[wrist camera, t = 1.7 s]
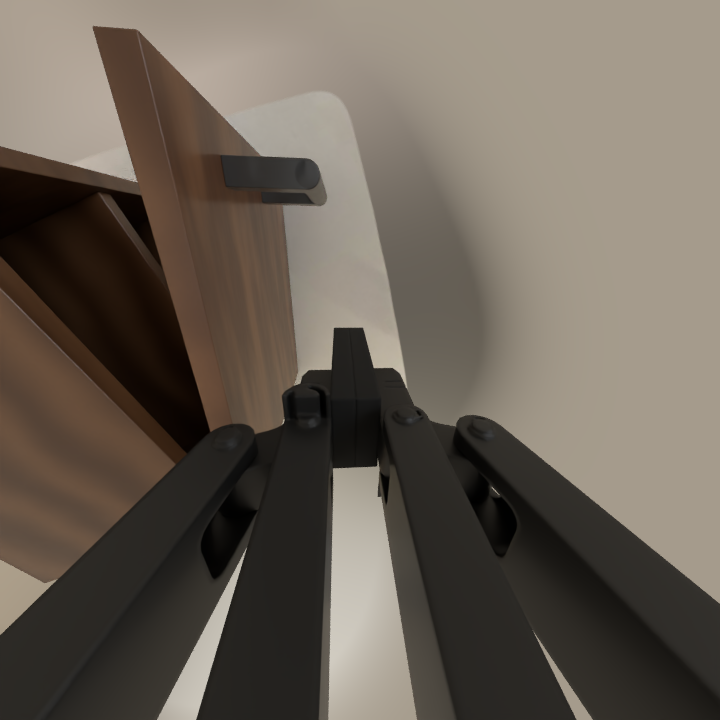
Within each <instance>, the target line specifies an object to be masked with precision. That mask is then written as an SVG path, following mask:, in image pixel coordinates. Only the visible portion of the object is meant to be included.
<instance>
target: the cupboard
mask: <svg viewBox="0 0 720 720" xmlns="http://www.w3.org/2000/svg"><path fill="white" fill-rule="evenodd" d="M209 433H210V428H209V425H208V421H207V418H206V415H205V411H204V408H203V404H202V401H201V397H200V394H199V391H198V387H197V384H196V380H195V377H194V373H193V370H192V367H191V363H190V360H189V356H188V353H187V349H186V346H185V343H184V339H183V336H182V332H181V329H180V325H179V322H178V319H177V315H176V312H175V308H174V305H173V301H172V298H171V295H170V291H169V288H168V284H167V281H166V277H165V274H164V271H163V267H162V264H161V260H160V257H159V253H158V250H157V247H156V243H155V240H154V236H153V233H152V229H151V226H150V223H149V219H148V216H147V212H146V209H145V205H144V202H143V199H142V195H141V192H140V188H139V185H138V183H137V182H133V181H129V180H125V179H122V178H118V177H114V176H110V175H107V174H103V173H99V172H95V171H91V170H88V169H84V168H80V167H76V166H73V165H69V164H65V163H61V162H57V161H54V160H49V159H46V158H42V157H38V156H35V155H31V154H27V153H23V152H20V151H16V150H12V149H8V148H4V147H1V146H0V560H2V561H4V562H6V563H8V564H10V565H12V566H14V567H15V568H18V569H19V570H21V571H23V572H25V573H27V574H29V575H31V576H33V577H34V578H36V579H38V580H40V581H42V582H44V583H47V582H50V581H53V580H56V579H59V578H60V577H61V576H62V575H63V574H64V573H65V572H66V571H67V570H68V569H69V568H70V567H71V566H72V565H73V564H74V563H75V562H76V561H77V560H78V559H79V558H80V557H81V556H82V555H83V554H84V553H85V552H86V551H87V550H88V549H90V548H91V547H92V546H93V545H94V544H95V543H96V542H97V541H98V540H99V539H100V538H101V537H102V536H103V535H104V534H105V533H106V532H107V531H108V530H109V529H110V528H111V527H112V526H113V525H114V524H115V523H116V522H117V521H118V520H119V519H120V518H121V517H122V516H123V515H124V514H126V513H127V512H128V511H129V510H130V509H131V508H132V507H133V506H134V505H135V504H136V503H137V502H138V501H139V500H140V499H141V498H142V497H143V496H144V495H145V494H146V493H147V492H148V491H149V490H150V489H151V488H152V487H153V486H154V485H155V484H156V483H157V482H158V481H159V480H160V479H162V478H163V477H164V476H165V475H166V474H167V473H168V472H169V471H170V470H171V469H172V468H173V467H174V466H175V465H176V464H177V463H178V462H179V461H180V460H181V459H182V458H183V457H184V456H185V455H186V454H187V453H188V452H189V451H190V450H191V449H192V448H193V447H194V446H195V445H196V444H198V443H199V442H200V441H201V440H202V439H203V438H204V437H205V436H206V435H207V434H209Z"/></svg>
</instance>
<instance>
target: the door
mask: <svg viewBox="0 0 720 720" xmlns="http://www.w3.org/2000/svg"><path fill="white" fill-rule="evenodd" d="M93 31H94V34H95V37H96V40H97V44H98V48H99V51H100V55H101V58H102V61H103V65H104V68H105V72H106V75H107V79H108V82H109V85H110V89H111V92H112V96H113V99H114V102H115V106H116V109H117V113H118V116H119V120H120V123H121V127H122V130H123V133H124V136H125V140H126V144H127V147H128V151H129V154H130V157H131V161H132V164H133V168H134V171H135V175H136V178H137V181H138V185H139V188H140V192H141V195H142V199H143V202H144V205H145V209H146V212H147V216H148V219H149V223H150V226H151V229H152V233H153V236H154V240H155V243H156V247H157V250H158V253H159V257H160V260H161V264H162V267H163V271H164V274H165V277H166V281H167V284H168V288H169V291H170V295H171V298H172V301H173V305H174V308H175V312H176V315H177V319H178V322H179V325H180V329H181V332H182V336H183V339H184V343H185V346H186V349H187V353H188V356H189V360H190V363H191V367H192V370H193V373H194V377H195V380H196V384H197V387H198V391H199V394H200V397H201V401H202V404H203V408H204V411H205V415H206V418H207V421H208V425H209V428H210V432H211V431H213V430H215V429H217V428H219V427H221V426H224V425H229V424H239V423H242V424H246V425H249V426H251V427H252V428H253V429H254V432H255V434H257V433H261V432H265V431H269V430H272V429H275V428H277V427H279V426H281V425H282V423H283V419H284V411H283V403H282V394H283V393H284V392H285V391H286V390H287V389H289V388H290V387H292V386H294V383H295V380H296V377H297V373H298V365H297V354H296V343H295V333H294V322H293V311H292V301H291V290H290V279H289V269H288V258H287V247H286V237H285V226H284V215H283V205H300V206H322V205H324V204H325V202H326V200H327V194H326V191H325V187H324V184H323V181H322V178H321V174H320V171H319V168H318V166H317V165H316V163H315V162H314V161H312V160H310V159H305V158H285V157H262V156H260V155H259V154H258V152H257V151H256V150H255V149H254V148H253V147H252V146H251V145H250V144H249V143H248V142H247V141H246V140H245V139H244V138H243V137H242V136H241V135H240V134H239V133H238V132H237V131H236V130H235V129H234V128H233V127H232V126H231V125H230V124H229V123H228V122H227V121H226V120H225V119H224V118H223V117H222V116H221V115H220V114H219V113H218V112H217V111H216V110H215V109H214V108H213V107H212V106H211V105H210V104H209V102H208V101H207V100H206V99H205V98H204V97H203V96H202V95H201V94H200V93H199V92H198V91H197V90H196V89H195V88H194V87H193V86H192V85H191V84H190V83H189V82H188V81H187V80H186V79H185V78H184V77H183V76H182V75H181V74H180V73H179V72H178V71H177V70H176V69H175V68H174V67H173V66H172V65H171V64H170V63H169V62H168V61H167V60H166V59H165V58H164V57H163V56H162V55H161V54H160V52H159V51H157V50H156V48H155V47H154V46H153V45H152V44H151V43H150V42H149V41H148V40H147V39H146V38H145V37H144V36H143V35H142V34H141V33H140V32H139V31H138V30H135V29H123V28H110V27H97V26H93Z"/></svg>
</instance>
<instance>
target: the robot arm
mask: <svg viewBox="0 0 720 720" xmlns="http://www.w3.org/2000/svg"><path fill="white" fill-rule="evenodd" d="M282 403H283V411H284V419H285V421H284V424H283V425H281V426H279V427H277V428H275V429H272V430H269V431H265V432H261V433H257V434H255V432H254V429H253V428H252V427H251V426H249V425H246V424H242V423H239V424H229V425H224V426H221V427H219V428H217V429H215V430H213V431H211V432H210V433H209V434H207V435H206V436H205V437H204V438H203V439H202V440H201V441H200V442H199V443H198V444H196V445H195V446H194V447H193V448H192V449H191V450H190V451H189V452H188V453H187V454H186V455H185V456H184V457H183V458H182V459H181V460H180V461H179V462H178V463H177V464H176V465H175V466H174V467H173V468H172V469H171V470H170V471H169V472H168V473H167V474H166V475H165V476H164V477H163V478H162V479H160V480H159V481H158V482H157V483H156V484H155V485H154V486H153V487H152V488H151V489H150V490H149V491H148V492H147V493H146V494H145V495H144V496H143V497H142V498H141V499H140V500H139V501H138V502H137V503H136V504H135V505H134V506H133V507H132V508H131V509H130V510H129V511H128V512H127V513H126V514H124V515H123V516H122V517H121V518H120V519H119V520H118V521H117V522H116V523H115V524H114V525H113V526H112V527H111V528H110V529H109V530H108V531H107V532H106V533H105V534H104V535H103V536H102V537H101V538H100V539H99V540H98V541H97V542H96V543H95V544H94V545H93V546H92V547H91V548H90V549H88V550H87V551H86V552H85V553H84V554H83V555H82V556H81V557H80V558H79V559H78V560H77V561H76V562H75V563H74V564H73V565H72V566H71V567H70V568H69V569H68V570H67V571H66V572H65V573H64V574H63V575H62V576H61V577H60V578H59V579H58V580H57V581H56V582H55V583H54V584H53V585H51V586H50V587H49V589H47V590H46V591H45V592H44V593H43V594H42V595H41V596H40V597H39V598H38V599H37V600H36V601H35V602H34V603H33V604H32V605H31V606H30V607H29V608H28V609H27V610H26V611H25V612H24V613H23V614H22V615H21V616H20V617H19V618H18V619H17V620H15V622H14V623H12V624H11V626H9V627H8V628H7V629H6V630H5V631H4V632H3V633H2V634H1V635H0V720H157V718H158V716H159V714H160V712H161V711H162V709H163V707H164V705H165V703H166V701H167V699H168V697H169V695H170V693H171V691H172V689H173V688H174V686H175V683H176V682H177V680H178V678H179V676H180V674H181V672H182V670H183V668H184V666H185V664H186V663H187V661H188V659H189V657H190V655H191V653H192V651H193V649H194V647H195V645H196V643H197V641H198V640H199V638H200V636H201V634H202V632H203V630H204V628H205V626H206V624H207V622H208V620H209V619H210V617H211V615H212V613H213V611H214V609H215V607H216V605H217V603H218V601H219V599H220V597H221V596H222V594H223V592H224V590H225V588H226V586H227V584H228V582H229V580H230V578H231V576H232V574H233V573H234V571H235V569H236V567H237V565H238V563H239V561H240V559H241V557H242V555H243V553H244V551H245V549H246V548H247V550H246V553H245V556H244V560H243V563H242V567H241V570H240V573H239V577H238V580H237V584H236V587H235V590H234V594H233V597H232V601H231V604H230V607H229V611H228V614H227V618H226V621H225V624H224V628H223V631H222V634H221V638H220V641H219V645H218V648H217V651H216V655H215V658H214V662H213V665H212V668H211V672H210V675H209V679H208V682H207V685H206V689H205V692H204V695H203V699H202V702H201V706H200V709H199V713H198V716H197V719H196V720H328V700H329V654H330V608H331V561H332V514H333V513H332V512H333V468H351V467H373V466H374V467H375V466H377V460H378V461H379V467H380V472H379V486H378V497H382V503H383V509H384V516H385V522H386V528H387V534H388V541H389V547H390V553H391V559H392V566H393V572H394V578H395V584H396V590H397V596H398V603H399V609H400V615H401V622H402V628H403V634H404V640H405V647H406V652H407V659H408V665H409V671H410V678H411V684H412V690H413V697H414V703H415V709H416V715H417V720H576V718H575V716H574V714H573V712H572V710H571V708H570V706H569V704H568V702H567V700H566V698H565V696H564V694H563V691H562V689H561V687H560V685H559V683H558V681H557V679H556V677H555V675H554V673H553V671H552V669H551V667H550V665H549V663H548V661H547V659H546V657H545V655H544V653H543V651H542V649H541V647H540V645H539V642H538V641H537V638H536V636H535V634H536V635H537V637H538V638H539V640H540V641H541V643H542V644H543V646H544V647H545V649H546V650H547V652H548V653H549V655H550V656H551V658H552V659H553V661H554V662H555V664H556V665H557V667H558V668H559V670H560V671H561V673H562V674H563V676H564V677H565V679H566V680H567V682H568V683H569V685H570V686H571V688H572V689H573V691H574V692H575V694H576V695H577V696H578V698H579V700H580V701H581V703H582V704H583V706H584V707H585V708H586V710H587V711H588V713H589V714H590V716H591V717H592V719H593V720H720V604H719V603H718V602H717V601H716V600H714V599H713V598H712V597H711V596H709V595H708V594H707V593H706V592H705V591H703V590H702V589H701V588H700V587H698V586H697V585H696V584H695V583H693V582H692V581H691V580H690V579H689V578H687V577H686V576H685V575H684V574H682V573H681V572H680V571H679V570H677V569H676V568H675V567H674V566H673V565H671V564H670V563H669V562H668V561H666V560H665V559H664V558H663V557H662V556H660V555H659V554H658V553H657V552H655V551H654V550H653V549H651V548H650V547H649V546H648V545H647V544H646V543H644V542H643V541H642V540H641V539H639V538H638V537H637V536H636V535H634V534H633V533H632V532H631V531H629V530H628V529H627V528H626V527H625V526H623V525H622V524H621V523H620V522H619V521H617V520H616V519H615V518H614V517H612V516H611V515H610V514H608V513H607V512H606V511H605V510H604V509H603V508H601V507H600V506H599V505H598V504H596V503H595V502H594V501H593V500H591V499H590V498H589V497H588V496H586V495H585V494H584V493H583V492H582V491H580V490H579V489H578V488H577V487H576V486H574V485H573V484H572V483H571V482H569V481H568V480H567V479H566V478H564V477H563V476H562V475H561V474H560V473H558V472H557V471H556V470H555V469H553V468H552V467H551V466H550V465H548V464H547V463H546V462H544V460H542V459H541V458H540V457H539V456H537V455H536V454H535V453H534V452H533V451H531V450H530V449H529V448H528V447H526V446H525V445H524V444H523V443H522V442H520V441H519V440H518V439H517V438H515V437H514V436H513V435H512V434H510V433H509V432H508V431H507V430H505V429H504V428H503V427H502V426H501V425H499V424H497V423H496V422H494V421H492V420H490V419H488V418H485V417H481V416H476V415H467V416H464V417H461V418H460V419H459V420H458V421H457V423H456V427H455V426H449V425H444V424H439V423H435V422H432V421H430V420H429V418H428V416H427V415H426V414H425V412H424V411H423V410H421V409H420V408H418V407H416V406H414V404H413V402H412V400H411V397H410V395H409V393H408V391H407V388H405V384H404V382H403V379H402V377H401V375H400V373H398V372H397V371H396V370H394V369H393V368H373V364H372V360H371V356H370V352H369V349H368V345H367V341H366V337H365V334H364V330H363V328H334V338H333V356H332V370H309V371H308V372H307V373H306V374H304V375H303V376H302V380H301V384H298V385H295V386H292V387H290V388H289V389H287V390H286V391H285V392H284V393H283V394H282ZM492 487H493V488H494V489H495V490H496V491H497V492H498V493H499V494H500V495H498V494H497V493H496V492H495V491H494V490H493V489H492ZM533 631H534V632H533ZM534 633H535V634H534Z"/></svg>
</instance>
